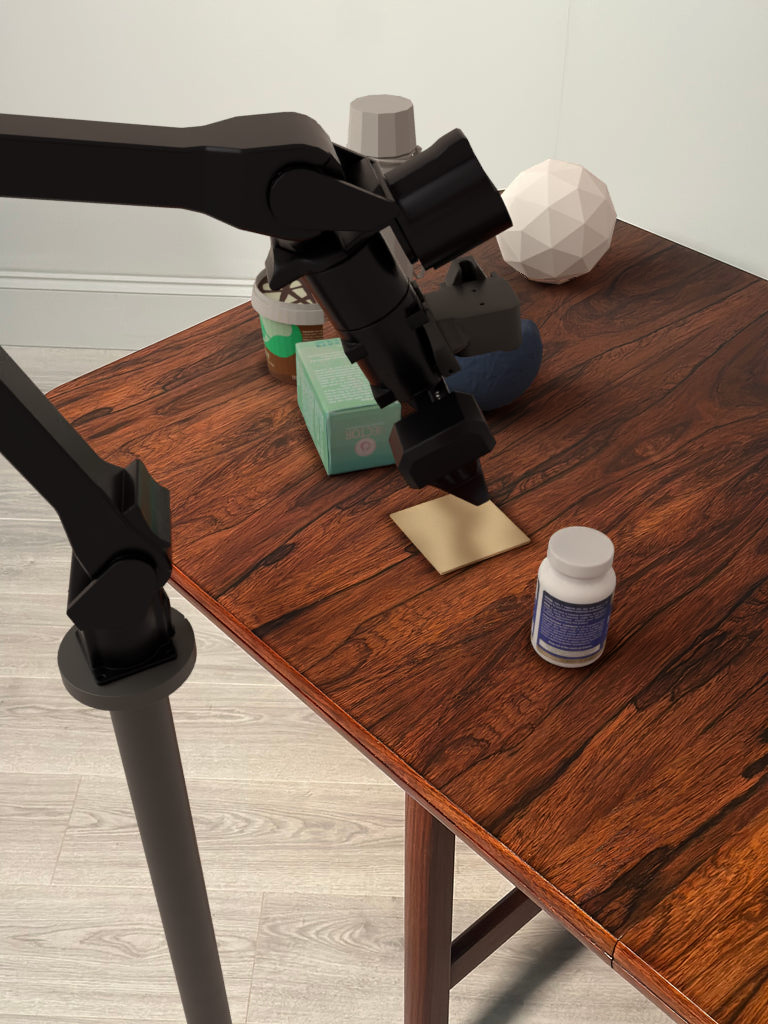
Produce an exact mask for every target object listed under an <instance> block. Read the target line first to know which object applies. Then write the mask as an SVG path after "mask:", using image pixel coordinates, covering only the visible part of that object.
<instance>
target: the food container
mask: <svg viewBox="0 0 768 1024" xmlns="http://www.w3.org/2000/svg"><path fill="white" fill-rule="evenodd" d="M250 304H251V307H252V308H253V309H254V311H255V312H256V313H258V315H259V321H260V327H261V332H262V339H263V344H264V352H265V357H266V363H267V368H268V369H267V370H268V372H269V373H270V374H271V375H272V376H273V378H275V379H276V380H278V381H280V382H282V383H286V384H289V385H293V386H297V372H296V343H299V342H308V341H316V340H324V325H325V313H324V311H323V310H322V308H321V307H320V305H319V304H318V302H317V301H316V299H315V298H314V296H313V294H312V293H311V291H310V290H309V288H308V287H307V285H306V284H305V282H304V280H303V279H302V277H301V278H300V279H298V280H296V281H294V282H293V283H291V284H289V285H287V286H286V287H284V288H282V289H281V290H279V291H272V290H271V289H270V287H269V283H268V278H267V273H266V268H265V267H264V268H263V269H262V270H261V271H259V272H258V274H257V275H256V276H255V280H254V282H253V284H252V291H251V297H250Z"/></svg>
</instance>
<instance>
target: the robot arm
mask: <svg viewBox="0 0 768 1024" xmlns="http://www.w3.org/2000/svg"><path fill="white" fill-rule="evenodd" d="M0 198H3V199H4V198H5V199H6V198H7V199H18V200H19V199H20V200H24V199H25V200H34V201H35V200H38V201H52V202H53V201H54V202H68V203H83V204H99V205H101V204H102V205H116V206H131V207H132V206H133V207H144V208H145V207H146V208H147V207H148V208H163V209H177V210H178V209H179V210H185V211H189V212H194V213H199V214H203V215H205V216H208V217H210V218H212V219H214V220H217V221H219V222H221V223H224V224H226V225H228V226H230V227H233V228H235V229H237V230H240V231H244V232H247V233H253V234H257V235H262V236H266V237H269V240H270V247H269V250H268V253H267V256H266V259H265V260H264V268H266V273H267V278H268V283H269V287H270V289H271V290H272V291H279V290H281V289H282V288H284V287H286V286H287V285H289V284H291V283H293V282H294V281H296V280H298V279H300V278H301V277H302V279H303V280H304V282H305V284H306V285H307V287H308V288H309V290H310V291H311V294H312V296H313V298H314V300H315V302H316V303H318V304H319V305H320V307H321V308H322V310H323V313H324V316H326V318H327V319H328V321H329V322H330V324H331V325H332V327H333V329H334V330H335V332H336V333H337V335H338V336H339V338H340V340H341V343H342V346H343V350H344V353H345V355H346V356H347V358H348V359H349V361H350V362H351V364H354V363H355V362H356V363H357V364H358V366H359V367H360V369H361V371H362V372H363V374H364V375H365V377H366V378H367V380H368V381H369V384H370V387H371V391H372V394H373V397H374V399H375V401H376V402H377V404H378V406H379V407H380V409H383V408H384V407H386V406H388V405H390V404H392V403H394V402H395V401H397V400H398V402H399V403H400V404H403V403H406V404H407V405H408V406H409V407H411V408H412V409H413V410H415V411H414V412H412V413H410V414H409V415H407V416H405V417H402V418H401V420H399V421H397V422H395V423H394V425H393V428H392V431H391V433H390V436H389V439H388V440H389V444H390V447H391V450H392V453H393V456H394V459H395V466H396V468H397V471H398V473H400V475H401V476H402V478H403V480H404V481H405V483H406V484H407V486H408V487H409V489H411V490H412V489H413V490H422V489H423V488H425V487H428V486H430V487H431V488H432V487H433V488H435V489H437V490H441V491H443V492H445V493H447V494H448V495H449V494H451V495H453V496H456V497H458V498H460V499H462V500H464V501H466V502H468V503H471V504H473V505H475V506H480V505H482V504H484V503H486V502H488V501H489V500H490V501H491V496H490V493H489V489H488V485H487V481H486V478H485V475H484V471H483V468H482V463H481V460H480V459H481V458H483V457H484V456H487V455H488V454H490V453H492V451H493V450H494V448H495V447H496V445H497V444H498V442H497V440H496V438H495V436H494V434H493V431H492V429H491V427H490V425H489V422H488V421H487V419H486V417H485V415H484V413H483V411H481V409H480V407H479V405H478V403H477V402H476V400H475V398H474V396H473V395H472V394H468V393H463V392H457V391H453V392H451V393H450V391H449V389H448V386H447V384H446V382H445V379H444V378H448V377H449V376H451V375H453V374H455V373H457V372H459V371H460V370H462V369H461V367H460V365H459V363H458V361H457V359H456V357H455V356H457V357H472V356H476V355H481V354H486V353H491V352H495V351H500V350H502V351H504V352H508V351H512V350H515V349H517V348H519V347H520V346H521V345H522V332H521V319H522V317H521V316H522V315H521V300H520V299H519V297H518V295H517V294H516V292H515V290H514V289H513V287H512V286H511V283H510V282H509V281H508V279H506V278H504V277H501V276H499V275H498V273H497V271H491V272H489V276H490V277H488V276H487V275H486V274H485V273H486V272H485V271H484V270H483V268H481V267H482V266H480V265H479V263H478V262H477V260H476V259H475V256H473V255H466V256H465V254H467V253H469V252H470V251H472V250H474V249H475V248H477V247H479V246H481V245H483V244H484V243H487V242H488V241H490V240H491V239H493V238H494V237H495V238H496V236H497V235H498V234H500V233H502V232H504V231H505V230H507V229H509V228H511V227H512V226H513V223H512V220H511V217H510V215H509V212H508V210H507V208H506V206H505V203H504V201H503V199H502V197H501V193H500V191H499V190H498V188H497V187H496V185H495V184H494V182H493V181H492V180H491V178H490V177H489V175H488V174H487V172H486V171H485V169H484V167H483V165H482V164H481V162H480V160H479V158H478V157H477V155H476V153H475V151H474V149H473V147H472V145H471V143H470V140H469V138H468V137H467V136H466V134H465V133H464V132H463V130H462V129H461V128H459V127H455V128H453V129H452V130H450V131H448V132H447V133H445V134H443V135H442V136H440V137H439V138H437V139H436V141H435V142H433V143H432V144H431V145H430V146H429V147H427V148H426V149H424V150H422V151H421V153H419V154H417V155H416V156H414V157H412V158H410V159H409V160H407V161H405V162H404V163H402V164H400V165H399V166H397V167H395V168H394V169H392V170H390V171H388V172H387V173H385V174H384V173H383V172H382V170H381V168H380V165H379V163H378V162H377V161H376V160H374V159H372V158H370V157H367V156H365V155H362V154H360V153H358V152H355V151H353V150H350V149H348V148H346V146H343V145H341V144H338V143H336V142H334V141H332V139H331V137H330V135H329V134H328V133H327V132H326V130H325V129H324V128H323V127H322V125H321V124H319V123H318V121H317V120H316V119H314V118H313V117H311V116H309V115H307V114H304V113H300V112H296V111H278V112H268V113H257V114H246V115H245V114H244V115H238V116H233V117H229V118H225V119H222V120H219V121H215V122H212V123H208V124H204V125H197V126H195V125H194V126H186V127H179V126H178V127H177V126H166V125H153V124H141V123H129V122H128V123H127V122H116V121H102V120H91V119H77V118H64V117H51V116H40V115H26V114H13V113H2V112H0ZM388 226H390V227H391V229H392V231H393V233H394V235H395V237H396V238H397V240H398V242H399V244H400V246H401V248H402V249H403V251H404V253H405V255H406V256H407V258H408V260H409V262H410V263H411V265H413V264H414V265H415V264H416V263H419V262H420V264H421V267H422V266H423V268H424V269H425V272H428V271H429V270H430V269H432V268H433V270H434V271H436V270H439V269H441V268H442V267H444V266H446V265H447V264H449V263H450V262H451V263H450V265H449V268H448V269H447V272H446V275H445V277H444V281H442V282H438V287H439V289H437V290H435V291H429V292H426V293H423V291H422V289H421V288H420V286H419V283H418V282H417V279H413V281H412V282H411V280H410V279H409V277H406V275H405V273H404V272H403V270H402V268H401V266H400V265H399V263H398V261H397V259H396V257H395V256H394V254H393V252H392V250H391V249H390V247H389V245H388V243H387V242H386V240H385V238H384V236H383V235H382V233H381V230H383V229H385V228H386V227H388ZM463 255H464V256H463ZM0 455H1V456H2V457H3V458H4V459H5V461H7V462H8V463H9V464H10V465H11V466H12V467H13V468H14V469H15V471H17V472H18V473H19V474H20V476H21V477H22V478H24V480H25V481H26V482H27V483H28V484H29V485H30V486H31V487H32V488H33V489H34V490H35V491H36V492H37V493H38V495H40V496H41V497H42V498H43V500H45V502H47V503H48V504H49V505H50V507H51V508H52V509H53V510H54V511H55V513H56V514H57V516H58V518H59V520H60V521H59V522H60V523H61V526H62V529H63V530H64V533H65V535H66V538H67V540H68V543H69V545H70V548H71V558H70V569H69V580H68V589H67V601H66V612H65V615H66V616H67V617H68V619H69V620H70V621H71V622H72V623H73V625H74V624H75V626H76V627H77V629H78V630H77V631H76V632H75V635H76V639H77V641H78V643H79V646H80V648H81V650H82V653H83V655H84V657H85V660H86V662H87V664H88V667H89V669H90V671H91V674H92V676H93V678H94V681H95V683H96V684H97V685H98V686H104V685H107V684H110V683H112V682H115V681H118V680H121V679H123V678H126V677H129V676H132V675H134V674H137V673H140V672H143V671H145V670H148V669H151V668H154V667H156V666H159V665H162V664H165V663H167V662H170V661H173V660H175V659H176V658H177V657H178V653H177V649H176V648H175V646H174V644H173V642H172V640H171V638H172V637H174V636H175V634H176V633H175V627H174V621H173V616H172V610H171V607H172V606H171V605H172V604H171V599H170V596H169V595H168V593H167V591H166V589H165V588H164V587H165V586H166V584H167V583H168V581H170V579H171V576H172V572H173V568H174V564H173V561H174V560H173V526H172V525H173V524H172V523H173V522H172V521H173V519H172V509H171V490H170V489H168V488H167V487H165V486H163V485H161V484H160V483H159V482H157V480H155V479H154V477H153V476H152V475H151V474H150V472H149V470H148V468H147V466H146V465H145V463H144V462H143V461H142V460H141V459H140V458H136V459H134V460H133V461H132V462H130V463H129V464H128V465H127V466H125V467H122V466H119V465H117V464H115V463H111V462H108V461H106V460H105V459H103V458H102V457H100V455H98V453H97V452H96V451H95V450H94V448H92V447H91V445H90V444H89V443H88V442H87V441H86V440H85V439H84V438H83V436H82V435H81V434H80V433H79V432H78V431H77V430H76V428H74V426H73V425H72V424H71V423H70V422H69V421H68V420H67V419H66V417H65V416H64V415H63V414H62V413H61V411H60V410H58V408H56V406H55V405H54V404H53V402H51V400H50V399H49V398H48V397H47V396H46V395H45V394H44V392H43V391H42V390H41V389H40V388H39V387H38V386H37V384H35V382H34V381H33V380H32V379H31V378H30V377H29V376H28V374H26V372H25V371H24V370H23V369H22V367H20V365H18V363H17V362H16V361H15V360H14V359H13V358H12V356H11V355H10V354H9V353H8V352H7V351H6V350H5V348H3V346H2V345H1V344H0ZM170 654H172V655H170ZM100 679H103V680H100Z"/></svg>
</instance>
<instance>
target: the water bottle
mask: <svg viewBox="0 0 768 1024" xmlns="http://www.w3.org/2000/svg"><path fill="white" fill-rule="evenodd" d="M348 115H349V116H348V129H347V143H346V144H345V147H346V148H348V149H350V150H353V151H355V152H358V153H360V154H362V155H365V156H367V157H370V158H372V159H374V160H376V161H377V162H378V163H379V165H380V168H381V170H382V172H383V173H384V174H385V173H387V172H388V171H390V170H392V169H394V168H395V167H397V166H399V165H400V164H402V163H404V162H405V161H407V160H409V159H410V158H412V157H414V156H416V155H417V154H419V153H421V152H422V151H423V147H421V146H420V145H418V144H417V135H416V122H415V110H414V103H413V102H412V100H411V99H410V98H409V99H408V98H406V97H404V96H402V95H395V94H388V93H387V94H386V93H384V94H383V93H382V94H367V95H364V96H360V97H356V98H355V99H353V100H352V101H351V102H350V103H349V114H348ZM381 233H382V235H383V236H384V238H385V240H386V242H387V243H388V245H389V247H390V249H391V250H392V252H393V254H394V256H395V257H396V259H397V261H398V263H399V265H400V266H401V268H402V270H403V272H404V273H405V275H406V277H409V279H410V280H411V282H412V281H413V280H414V279H413V278H415V280H418V279H422V278H424V277H425V273H426V271H425V269H424V268H423V266H422V265H421V268H420V272H419V273H418V274H416V272H415V264H413V265H411V263H410V262H409V260H408V258H407V256H406V255H405V253H404V251H403V249H402V248H401V246H400V244H399V242H398V240H397V238H396V237H395V235H394V233H393V231H392V229H391V227H390V226H388V227H386V228H385V229H383V230H381Z"/></svg>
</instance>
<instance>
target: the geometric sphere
mask: <svg viewBox="0 0 768 1024" xmlns="http://www.w3.org/2000/svg"><path fill="white" fill-rule="evenodd" d="M500 195H501V197H502V199H503V201H504V203H505V206H506V208H507V210H508V212H509V215H510V217H511V220H512V223H513V226H512V227H511V228H509V229H507V230H505V231H504V232H502V233H500V234H498V235H497V236H495V238H496V241H497V245H498V247H499V250H500V253H501V256H502V259H503V261H504V262H505V263H507V264H508V265H509V266H510V267H512V268H513V269H514V270H515V271H517V272H518V271H519V272H520V273H519V272H518V273H519V274H521V273H522V274H524V275H526V276H527V277H531V278H535V279H544V280H562V279H567V278H572V277H576V278H578V277H580V276H583V275H585V274H587V273H590V272H591V270H593V268H594V267H595V266H596V265H597V263H599V261H600V260H601V259H602V257H603V256H604V255H605V254H606V253H607V251H608V250H609V249H610V247H611V244H612V239H613V234H614V230H615V226H616V221H617V218H618V214H617V211H616V209H615V206H614V203H613V200H612V197H611V194H610V191H609V189H608V185H607V184H606V182H605V181H603V180H601V179H600V178H599V177H597V176H596V175H594V174H593V173H592V172H590V171H589V170H588V169H587V168H585V167H584V166H583V165H582V164H580V163H575V162H570V161H565V160H560V159H554V158H548V159H546V160H543V161H541V162H539V163H537V164H536V165H533V166H531V167H529V168H527V169H524V170H523V171H521V172H519V174H518V175H517V176H516V177H515V178H514V179H513V181H512V182H510V184H509V185H508V186H507V187H506V189H505V190H504V191H503V192H501V193H500ZM522 274H521V275H522ZM569 281H570V280H566V281H561V282H548V281H536V282H537V283H546V284H552V285H561V284H564V283H567V282H569Z"/></svg>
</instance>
